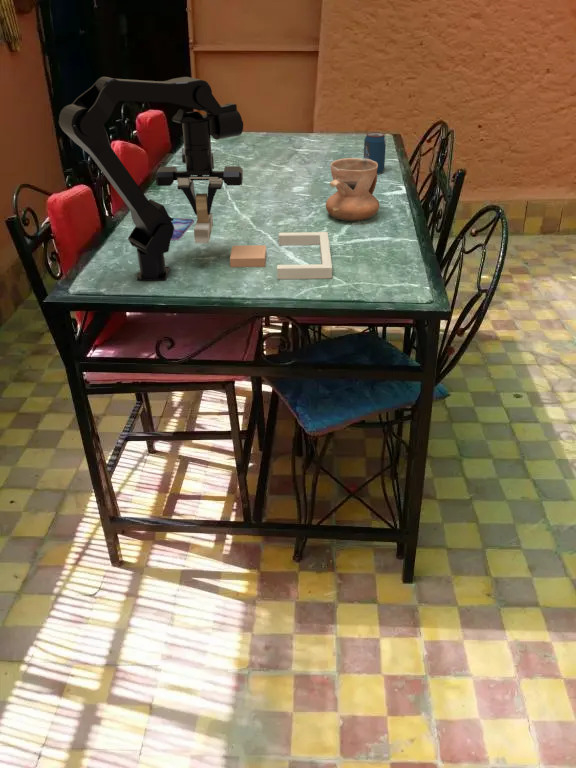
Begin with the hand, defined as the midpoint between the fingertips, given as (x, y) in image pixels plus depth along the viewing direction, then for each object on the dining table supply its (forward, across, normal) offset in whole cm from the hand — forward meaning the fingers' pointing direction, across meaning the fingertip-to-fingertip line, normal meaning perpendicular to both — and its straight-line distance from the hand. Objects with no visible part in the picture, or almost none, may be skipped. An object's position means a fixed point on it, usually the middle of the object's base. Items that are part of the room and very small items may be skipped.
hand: (202, 214), depth 144 cm
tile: (+11, -10, +1) cm, 15 cm away
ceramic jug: (+10, -38, -28) cm, 48 cm away
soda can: (+10, -49, -71) cm, 87 cm away
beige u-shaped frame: (+10, -22, +1) cm, 25 cm away
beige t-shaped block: (+5, 0, 0) cm, 5 cm away
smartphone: (+11, +10, -20) cm, 26 cm away
